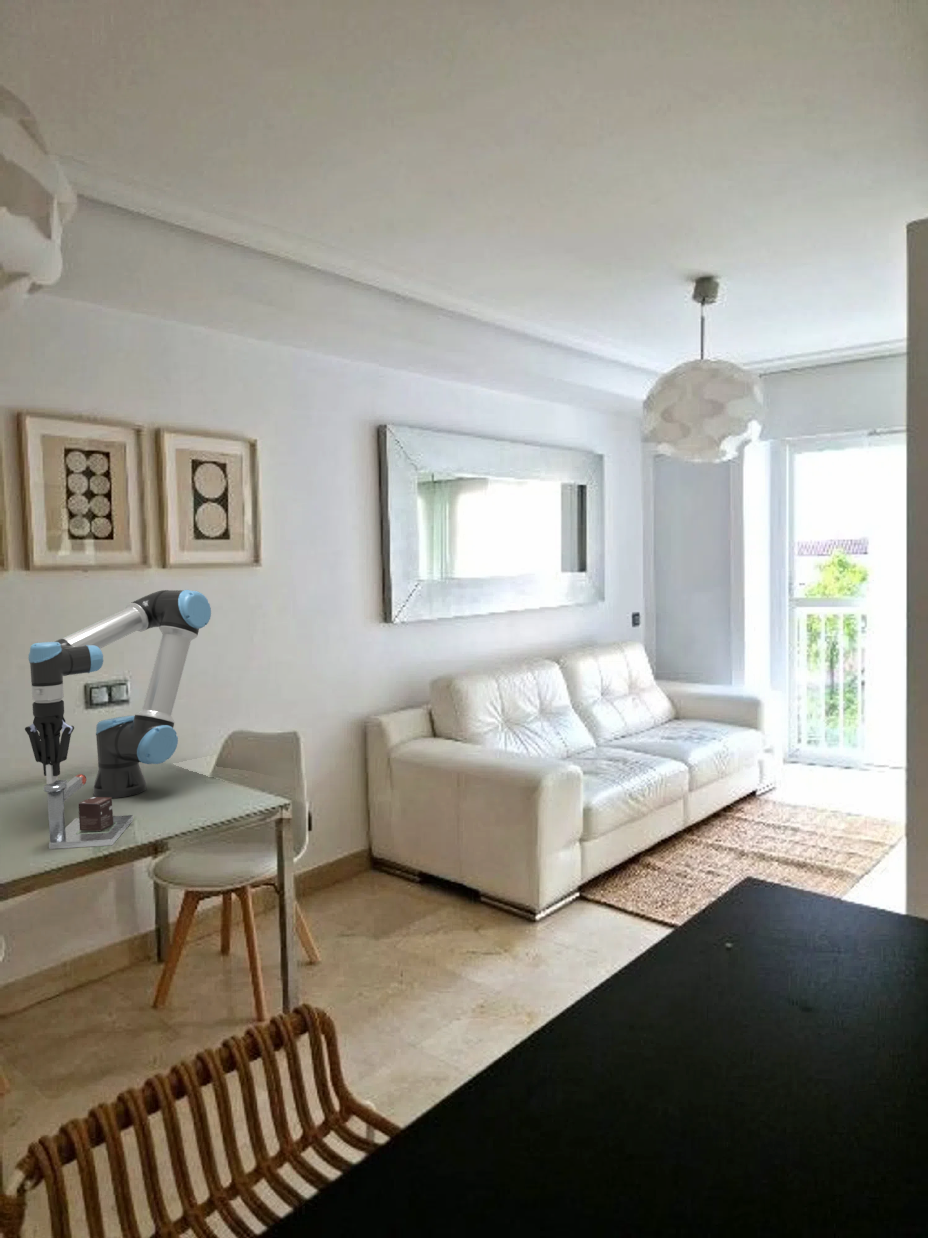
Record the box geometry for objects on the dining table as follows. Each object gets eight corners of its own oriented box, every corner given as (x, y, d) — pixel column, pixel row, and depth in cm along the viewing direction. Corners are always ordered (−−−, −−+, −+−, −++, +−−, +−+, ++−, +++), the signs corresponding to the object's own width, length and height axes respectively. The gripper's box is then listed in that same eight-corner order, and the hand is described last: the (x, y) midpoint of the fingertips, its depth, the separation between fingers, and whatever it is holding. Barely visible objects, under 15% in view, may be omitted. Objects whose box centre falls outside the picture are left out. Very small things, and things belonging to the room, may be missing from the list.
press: (74, 824, 229) (71, 773, 228) (132, 820, 231) (130, 770, 230) (47, 849, 210) (44, 793, 208) (112, 845, 211) (109, 790, 210)
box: (100, 832, 217) (98, 804, 216) (79, 831, 218) (77, 803, 217) (114, 824, 223) (112, 797, 222) (93, 823, 224) (91, 796, 223)
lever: (63, 808, 209) (61, 787, 208) (41, 809, 208) (40, 788, 208) (91, 783, 232) (90, 764, 231) (72, 784, 231) (71, 765, 231)
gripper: (16, 702, 221) (21, 791, 223) (62, 703, 220) (66, 792, 221) (34, 698, 229) (39, 783, 230) (79, 698, 227) (83, 784, 229)
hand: (52, 787), depth 226 cm, fingers closed
